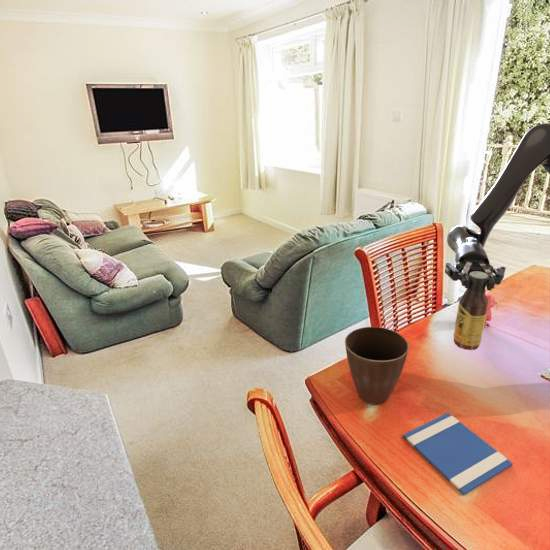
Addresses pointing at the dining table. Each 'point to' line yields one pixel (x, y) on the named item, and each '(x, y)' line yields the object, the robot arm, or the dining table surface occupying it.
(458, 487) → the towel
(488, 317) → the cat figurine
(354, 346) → the flower pot
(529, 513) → the dining table surface
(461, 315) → the sauce bottle
